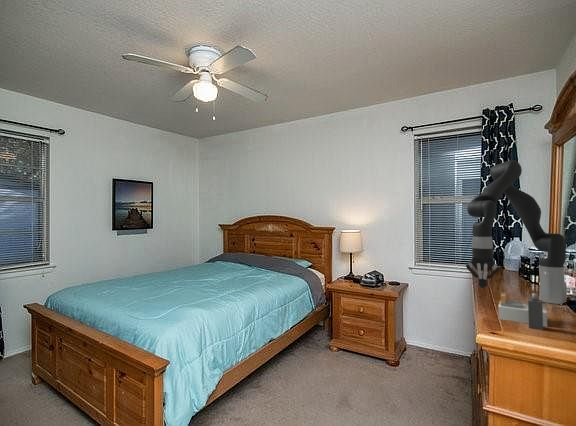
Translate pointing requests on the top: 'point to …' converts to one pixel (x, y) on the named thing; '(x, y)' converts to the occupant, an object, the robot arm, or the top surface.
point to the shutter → (510, 302)
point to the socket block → (518, 314)
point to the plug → (535, 312)
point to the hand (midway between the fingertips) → (483, 287)
